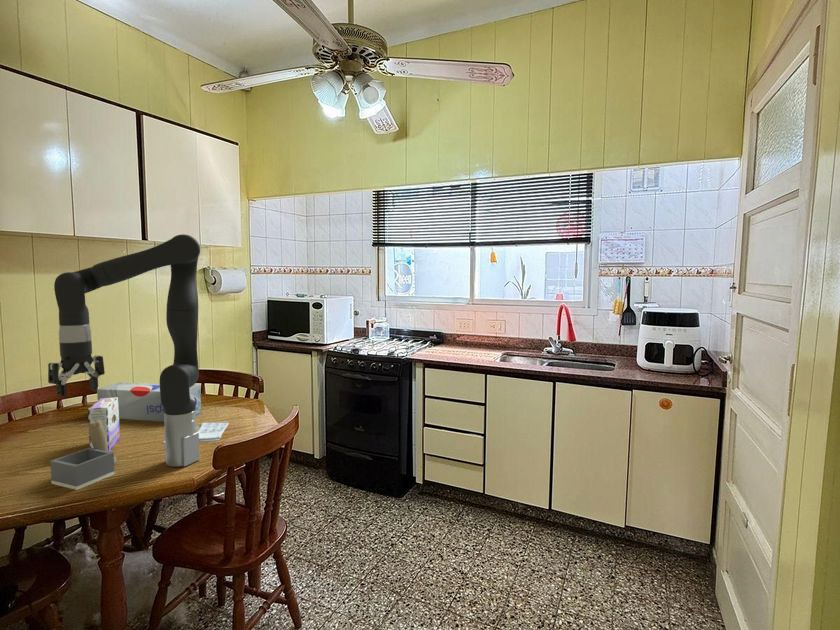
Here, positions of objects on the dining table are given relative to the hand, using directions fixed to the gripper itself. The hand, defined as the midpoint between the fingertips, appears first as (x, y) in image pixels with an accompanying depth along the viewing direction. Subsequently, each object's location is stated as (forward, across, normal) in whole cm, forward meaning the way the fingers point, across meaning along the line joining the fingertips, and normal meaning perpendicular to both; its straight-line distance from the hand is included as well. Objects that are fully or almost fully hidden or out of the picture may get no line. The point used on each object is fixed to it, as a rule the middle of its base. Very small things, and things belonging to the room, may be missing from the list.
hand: (78, 393), depth 131 cm
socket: (+26, 0, 0) cm, 27 cm away
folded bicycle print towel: (+28, +42, -1) cm, 50 cm away
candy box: (+27, +20, +19) cm, 39 cm away
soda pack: (+27, +51, +35) cm, 68 cm away
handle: (+11, +6, +4) cm, 13 cm away
